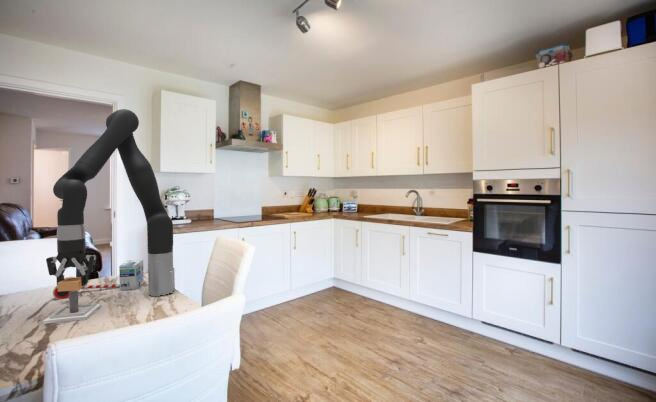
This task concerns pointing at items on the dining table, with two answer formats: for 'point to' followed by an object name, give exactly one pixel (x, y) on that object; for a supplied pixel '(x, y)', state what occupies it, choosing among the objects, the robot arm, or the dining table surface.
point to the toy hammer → (66, 293)
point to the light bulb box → (131, 274)
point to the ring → (70, 284)
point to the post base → (73, 311)
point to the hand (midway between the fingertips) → (72, 285)
